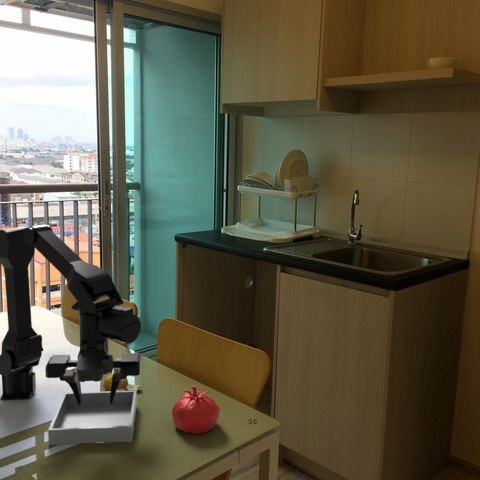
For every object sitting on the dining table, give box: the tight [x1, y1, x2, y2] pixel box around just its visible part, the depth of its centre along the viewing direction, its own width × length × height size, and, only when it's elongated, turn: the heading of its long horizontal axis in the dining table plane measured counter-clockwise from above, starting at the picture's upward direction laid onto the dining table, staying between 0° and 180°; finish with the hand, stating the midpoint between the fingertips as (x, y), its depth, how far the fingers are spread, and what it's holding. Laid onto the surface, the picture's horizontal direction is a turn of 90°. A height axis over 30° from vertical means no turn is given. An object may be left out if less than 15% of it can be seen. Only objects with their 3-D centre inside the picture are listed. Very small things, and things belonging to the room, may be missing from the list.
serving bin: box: [47, 390, 138, 446], centre depth 114 cm, size 16×16×4 cm
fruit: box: [102, 373, 142, 391], centre depth 130 cm, size 8×8×4 cm
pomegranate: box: [171, 384, 221, 435], centre depth 114 cm, size 10×10×9 cm
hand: (95, 403), depth 113 cm, fingers open, 6 cm apart
